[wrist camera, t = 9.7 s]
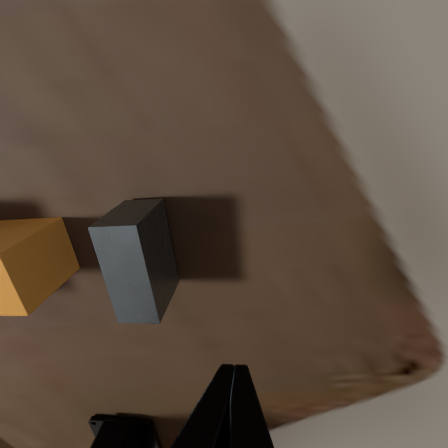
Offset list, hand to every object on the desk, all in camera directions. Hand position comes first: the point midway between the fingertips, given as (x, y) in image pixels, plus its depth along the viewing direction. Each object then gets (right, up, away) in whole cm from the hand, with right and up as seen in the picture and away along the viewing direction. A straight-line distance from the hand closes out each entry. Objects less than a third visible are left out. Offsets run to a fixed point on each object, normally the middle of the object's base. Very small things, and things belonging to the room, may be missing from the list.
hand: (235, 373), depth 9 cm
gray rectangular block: (-5, +4, +9) cm, 11 cm away
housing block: (-14, +3, +11) cm, 18 cm away
